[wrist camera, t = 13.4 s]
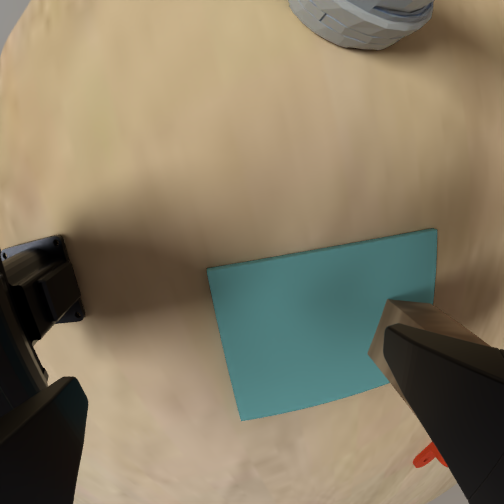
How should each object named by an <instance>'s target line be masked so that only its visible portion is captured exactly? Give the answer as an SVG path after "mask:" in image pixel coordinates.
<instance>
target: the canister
mask: <svg viewBox="0 0 504 504" xmlns="http://www.w3.org/2000/svg"><path fill="white" fill-rule="evenodd" d="M288 1H289V4H290V5H289V7H290V8H291V10H292V11H293V13H294V14H295V15H296V16H297V17H298V18H299V19H300V21H301V22H302V23H303V24H305V25H306V26H307V27H308V28H309V29H311V30H312V31H313V32H315V33H316V34H318V35H319V36H321V37H323V38H324V39H326V40H328V41H330V42H332V43H334V44H337V45H339V46H342V47H345V48H347V47H353V48H360V49H375V50H381V49H384V48H386V47H388V46H390V45H392V44H394V43H396V42H397V41H399V40H400V39H401V38H403V37H405V36H408V35H410V34H411V33H413V32H415V31H417V30H418V29H420V28H421V27H422V26H423V25H424V24H425V23H426V22H428V21H429V20H430V19H431V16H432V11H433V1H434V0H288Z"/></svg>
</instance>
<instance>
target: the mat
mask: <svg viewBox="0 0 504 504" xmlns="http://www.w3.org/2000/svg"><path fill="white" fill-rule="evenodd" d="M436 259H437V229H434V228H431V229H426V230H421V231H415V232H410V233H404V234H399V235H393V236H388V237H382V238H377V239H371V240H366V241H360V242H355V243H349V244H344V245H338V246H333V247H327V248H321V249H316V250H310V251H304V252H299V253H293V254H287V255H282V256H276V257H270V258H264V259H259V260H253V261H247V262H241V263H235V264H229V265H224V266H218V267H212V268H207V275H208V280H209V285H210V290H211V295H212V300H213V304H214V309H215V314H216V318H217V323H218V328H219V332H220V337H221V341H222V345H223V350H224V354H225V358H226V363H227V367H228V371H229V375H230V379H231V383H232V387H233V391H234V395H235V399H236V403H237V407H238V411H239V415H240V419H241V421H245V420H251V419H257V418H262V417H267V416H273V415H277V414H282V413H287V412H291V411H296V410H300V409H304V408H308V407H312V406H316V405H320V404H324V403H328V402H331V401H335V400H338V399H342V398H345V397H348V396H352V395H355V394H358V393H361V392H364V391H367V390H370V389H373V388H376V387H379V386H382V385H385V384H388V383H390V382H389V381H388V379H387V378H386V377H385V376H384V374H383V373H382V372H381V370H380V369H379V368H378V367H377V365H376V364H375V363H374V362H373V360H372V359H371V358H370V357H369V355H368V354H367V353H368V350H369V348H370V345H371V343H372V340H373V337H374V335H375V332H376V329H377V326H378V324H379V321H380V318H381V315H382V312H383V309H384V307H385V304H386V301H387V299H391V300H401V301H411V302H421V303H431V304H432V305H433V300H434V289H435V276H436Z"/></svg>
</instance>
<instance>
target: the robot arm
mask: <svg viewBox="0 0 504 504" xmlns="http://www.w3.org/2000/svg"><path fill="white" fill-rule="evenodd" d="M56 240H58V242H59V245H57V244H56ZM5 253H6V255H7V257H6V255H5ZM0 254H1V255H0V504H73V501H74V494H75V488H76V482H77V476H78V470H79V465H80V460H81V455H82V450H83V444H84V436H85V427H86V419H87V411H88V399H87V397H86V395H85V393H84V391H83V389H82V387H81V385H80V383H79V381H78V380H77V379H76V378H75V377H62V378H61V379H59V380H57V381H56V382H54V383H53V384H51V385H50V386H48V384H47V381H48V373H47V372H46V370H45V368H43V367H42V365H41V363H40V361H39V358H38V356H37V354H36V352H35V350H34V348H33V346H34V345H35V344H36V342H37V341H38V340H40V339H41V338H42V337H43V336H44V335H45V334H46V333H47V332H48V331H49V329H50V328H51V327H52V326H53V325H54V324H58V323H68V322H77V321H82V320H83V319H84V317H85V310H84V308H83V305H82V302H81V299H80V295H81V294H80V291H79V288H78V285H77V281H76V278H75V275H74V271H73V268H72V264H71V263H70V262H69V258H68V254H67V251H66V247H65V243H64V239H63V237H62V236H60V235H54V236H50V237H46V238H43V239H39V240H35V241H31V242H27V243H24V244H20V245H16V246H13V247H9V248H6V249H4V250H2V251H1V249H0ZM77 312H79V313H80V315H81V316H79V315H78V314H77ZM383 355H384V358H385V360H386V362H387V364H388V366H389V368H390V370H391V372H392V374H393V376H394V378H395V380H396V382H397V384H398V386H399V388H400V390H401V392H402V394H403V395H404V397H405V399H406V400H407V402H408V404H409V405H410V407H411V408H412V410H413V411H414V413H415V414H416V416H417V418H418V419H419V421H420V422H421V424H422V425H423V427H424V428H425V430H426V432H427V433H428V435H429V436H430V438H431V440H432V441H433V443H434V444H435V446H436V448H437V449H438V451H439V453H440V454H441V456H442V458H443V459H444V461H445V462H446V464H447V466H448V467H449V469H450V471H451V472H452V474H453V476H454V478H455V479H456V481H457V483H458V484H459V486H460V487H461V490H462V491H463V493H464V495H465V497H466V498H467V499H468V502H469V504H504V350H503V349H500V350H499V349H498V348H494V347H490V346H486V345H482V344H478V343H474V342H470V341H466V340H462V339H458V338H454V337H450V336H446V335H442V334H438V333H434V332H431V331H427V330H423V329H419V328H416V327H412V326H408V325H404V324H401V323H396V324H393V325H390V326H387V327H386V328H385V332H384V343H383Z"/></svg>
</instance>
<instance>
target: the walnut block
mask: <svg viewBox="0 0 504 504" xmlns="http://www.w3.org/2000/svg"><path fill="white" fill-rule="evenodd" d="M396 323H401V324H404V325H408V326H412V327H416V328H419V329H423V330H427V331H431V332H434V333H438V334H442V335H446V336H450V337H454V338H458V339H462V340H466V341H470V342H474V343H478V344H482V345H486V346H490V345H488V344H487V343H486V342H484V341H483V340H481V339H480V338H479V337H477V336H476V335H475V334H473V333H472V332H470V331H469V330H468V329H466V328H465V327H464V326H462V325H461V324H459V323H458V322H456V321H455V320H454V319H452V318H451V317H449V316H448V315H447V314H445V313H444V312H442V311H441V310H439V309H438V308H436V307H435V306H434V305H432V304H431V303H421V302H411V301H401V300H391V299H387V301H386V304H385V307H384V309H383V312H382V315H381V318H380V321H379V324H378V326H377V329H376V332H375V335H374V337H373V340H372V343H371V345H370V348H369V350H368V353H367V354H368V355H369V357H370V358H371V359H372V360H373V362H374V363H375V364H376V365H377V367H378V368H379V369H380V370H381V372H382V373H383V374H384V376H385V377H386V378H387V379H388V381H389V382H390V383H391V384H392V386H393V387H394V388H395V389H396V391H397V392H398V393H399V395H400V396H401V397H402V398H403V400H404V401H405V402H406V404H407V405H408V406H409V407H410V405H409V404H408V402H407V400H406V399H405V397H404V395H403V394H402V392H401V390H400V388H399V386H398V384H397V382H396V380H395V378H394V376H393V374H392V372H391V370H390V368H389V366H388V364H387V362H386V360H385V358H384V355H383V343H384V332H385V328H386V327H387V326H390V325H393V324H396ZM490 347H491V346H490ZM410 409H411V410H412V408H411V407H410ZM412 411H413V410H412ZM413 413H414V411H413ZM414 414H415V413H414ZM415 415H416V414H415ZM416 417H417V416H416Z"/></svg>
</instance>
